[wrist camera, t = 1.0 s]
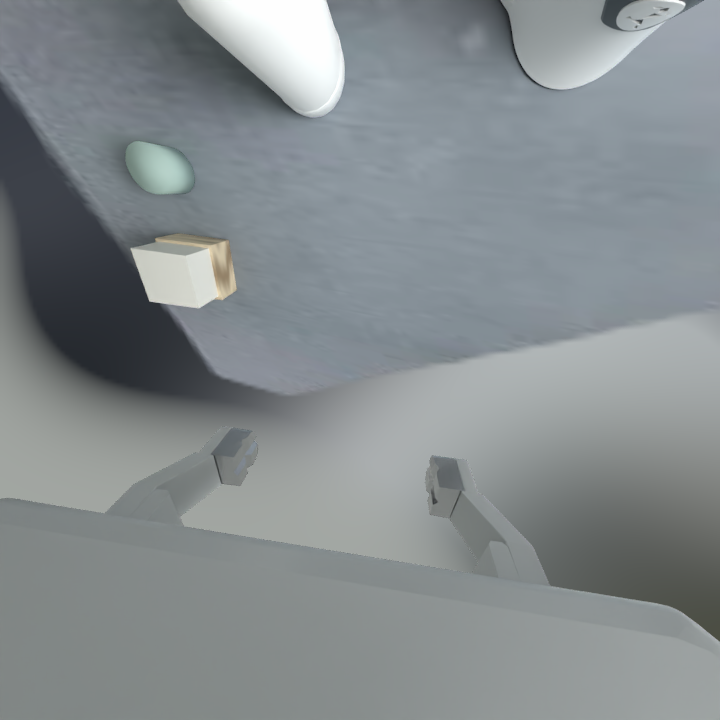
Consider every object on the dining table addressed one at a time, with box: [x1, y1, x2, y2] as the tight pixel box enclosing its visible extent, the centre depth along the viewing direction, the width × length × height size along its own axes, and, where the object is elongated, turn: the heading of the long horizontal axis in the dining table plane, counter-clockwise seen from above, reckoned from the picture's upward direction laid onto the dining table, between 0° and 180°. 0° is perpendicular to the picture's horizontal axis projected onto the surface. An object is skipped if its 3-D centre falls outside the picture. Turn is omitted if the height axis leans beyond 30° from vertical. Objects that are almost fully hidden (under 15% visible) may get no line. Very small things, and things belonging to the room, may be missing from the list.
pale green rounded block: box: [125, 141, 195, 194], centre depth 33 cm, size 5×5×5 cm
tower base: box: [155, 233, 237, 300], centre depth 40 cm, size 8×8×5 cm
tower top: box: [130, 242, 218, 308], centre depth 36 cm, size 7×7×5 cm
